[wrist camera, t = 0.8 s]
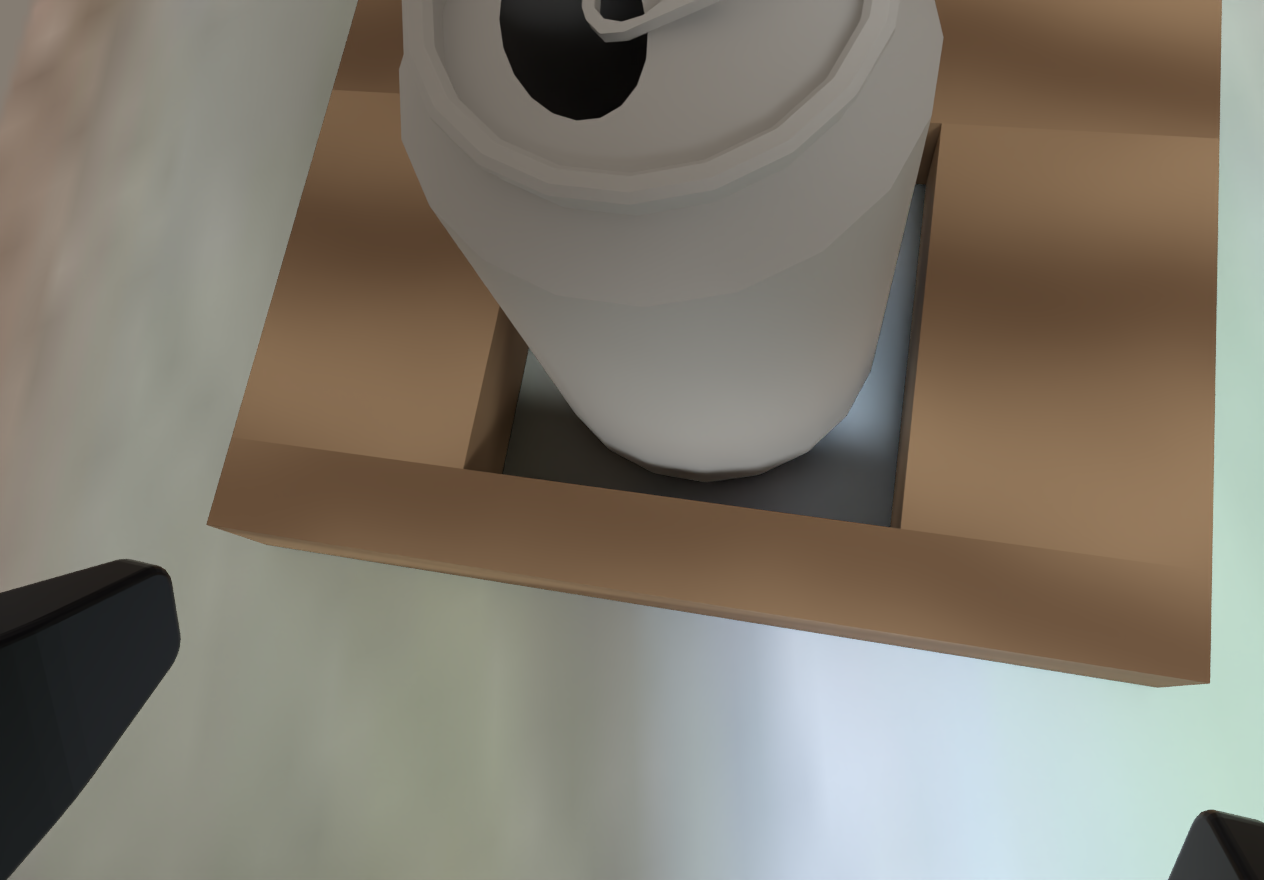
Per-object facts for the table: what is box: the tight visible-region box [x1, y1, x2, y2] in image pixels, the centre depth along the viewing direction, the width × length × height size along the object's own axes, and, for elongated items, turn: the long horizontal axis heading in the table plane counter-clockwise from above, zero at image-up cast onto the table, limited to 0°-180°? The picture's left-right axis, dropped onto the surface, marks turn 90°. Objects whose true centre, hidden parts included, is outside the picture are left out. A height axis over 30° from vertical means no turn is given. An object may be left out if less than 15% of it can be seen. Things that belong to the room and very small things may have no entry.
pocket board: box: [206, 0, 1222, 688], centre depth 22 cm, size 14×20×2 cm
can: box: [399, 0, 944, 482], centre depth 17 cm, size 8×8×12 cm
